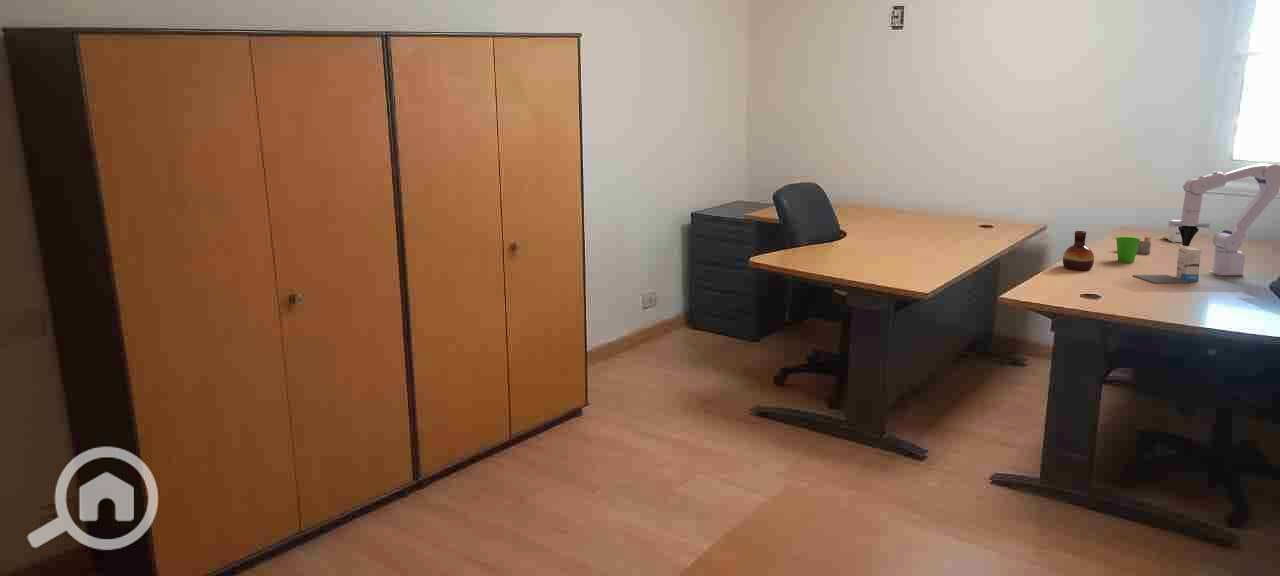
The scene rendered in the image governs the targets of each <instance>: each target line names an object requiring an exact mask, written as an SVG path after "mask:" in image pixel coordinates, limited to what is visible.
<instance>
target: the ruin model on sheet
mask: <svg viewBox="0 0 1280 576" xmlns="http://www.w3.org/2000/svg"><path fill="white" fill-rule="evenodd" d="M1151 239H1152V236H1145V237H1144V240H1140V241H1139V245H1138V248H1137V252H1136V254H1141V255H1149V254H1151V246H1152V241H1151Z"/></svg>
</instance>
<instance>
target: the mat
mask: <svg viewBox="0 0 1280 576" xmlns="http://www.w3.org/2000/svg"><path fill="white" fill-rule="evenodd" d="M1132 277H1134V278H1137V279H1140V280H1143V281H1144V282H1145V281H1146V282H1148V283H1152V284H1191V281H1185V280H1182V279H1179V278H1176V276H1173V275H1169V274H1133V275H1132Z"/></svg>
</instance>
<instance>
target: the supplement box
mask: <svg viewBox="0 0 1280 576" xmlns="http://www.w3.org/2000/svg"><path fill="white" fill-rule="evenodd" d="M1169 221H1181V219H1169V220H1168V222H1169ZM1187 226H1193V225H1187ZM1166 237H1167V238H1166V240H1167V239H1168V240H1167V241H1169V240H1170V241H1169V242H1171V241H1172V242H1171V243H1173V242H1182V237H1181V234H1180V231H1179V229H1178V227H1176V226H1173V227H1171V226H1168V225H1167V235H1166Z"/></svg>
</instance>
